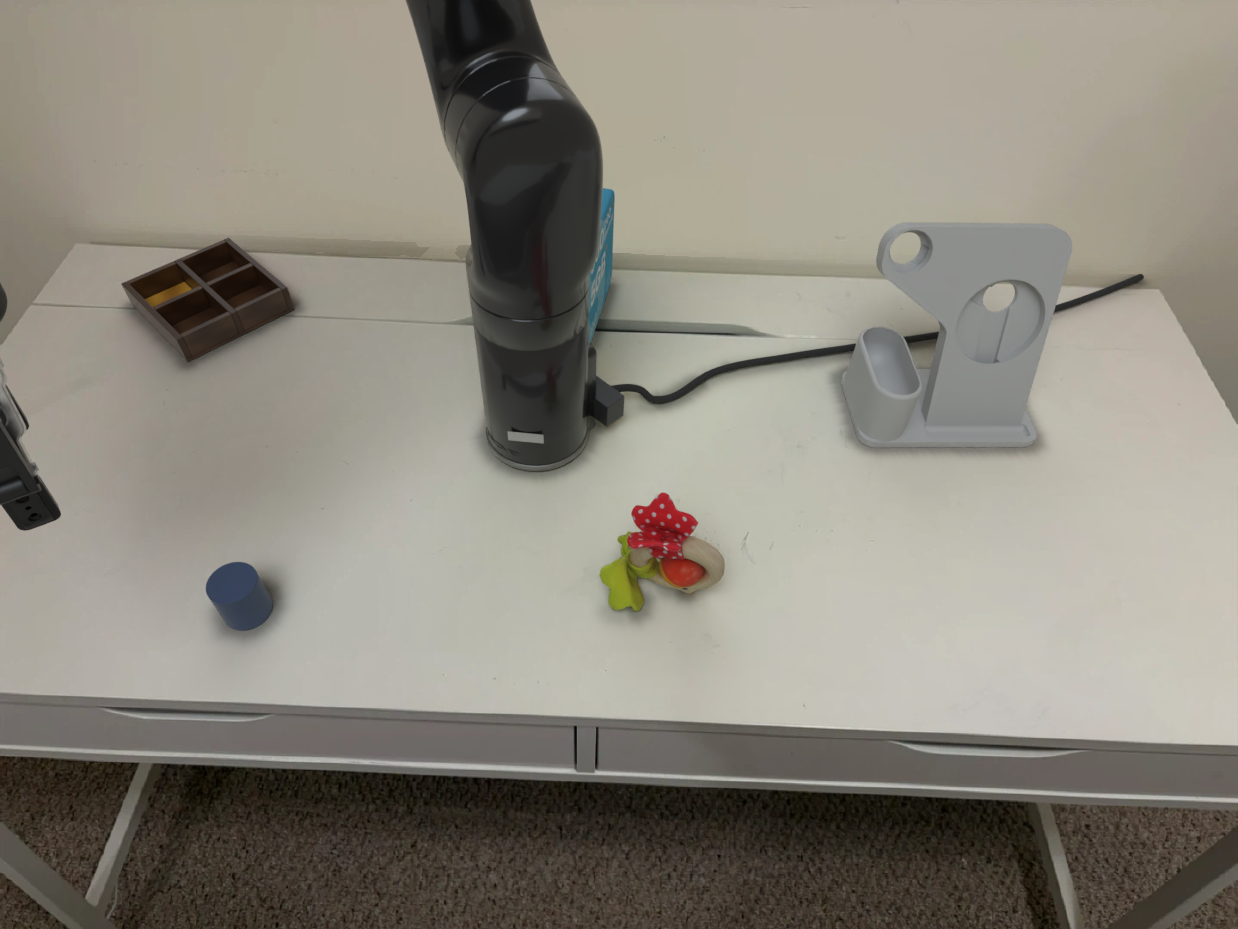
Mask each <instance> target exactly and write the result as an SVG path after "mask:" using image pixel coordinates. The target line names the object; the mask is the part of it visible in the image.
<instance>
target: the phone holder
mask: <svg viewBox="0 0 1238 929" xmlns="http://www.w3.org/2000/svg"><path fill="white" fill-rule="evenodd" d="M907 233H913V234H915V235H917V237H918V239H919V241H920V247H919V251H918V253H917V254H916V256H915V257H914V258H913V259H911V260H910V261H907V262H903V263H902V262H901V263H899V262H896V261H894V260H893V259H892V256H891V247H892V245H893V244H894V242H895V241H896V239H897V238H899V237H900V236H901V235H903V234H907ZM1072 253H1073V241H1072V238H1071V236H1070V234H1069V233H1068V232H1067V231H1066V230H1063V229H1061V228H1059V227H1057V226H1055V225H1053V224H1050V223H1038V222H1037V223H1036V222H1035V223H1034V222H1033V223H1031V222H1030V223H1029V222H1028V223H1027V222H1024V223H1021V222H941V221H940V222H929V221H928V222H927V221H926V222H921V221H920V222H919V221H917V222H913V221H912V222H911V221H910V222H909V221H907V222H906V221H905V222H900V223H897V224H895V225H893V226H891V227H890V228H889V229H888V230H886V231H885V232H884V233H883V235H882V237H881V239H880V241H879V243H878V248H877V253H876V258H875V265H876V268H877V270H878V272H879V273H880V274H881V275H882V276H883V277H884V278H886V280H888V281H889V282H890V283H891V284H892V285H894V286H895V287H896V288H897V289H898V290H900V291H901V292H902V293H903V294H905V296H907V297H908V298H910V299H911V300H912V301H913V302H915V303H916V305H918V306H919V307H920V308H922V310H924V311H925V312H927V313H928V314H929V315H930V316H931V317H933V318H934V319H935V320H936V321H937V323H938V324H939V330H938V331H939V335H938V339H936V344H935V348H934V353H933V357H932V361H931V365H930V368H917V365H916V363H915V360H914V358H913V356H912V353H911V351H910V350H911V349H910V348H909V346H908V344H907V342H906V340H905V339H904V337H905V336H903V335H902V334H901V333H900V332H898V331H897V330H895V329H892V328H890V327H886V326H882V325H881V326H880V325H879V326H878V325H875V326H870V327H867V328H865V329H863V330H862V331H861V332H860V333H859V335H858V337H857V341H856V343H855V344H856V346H855V349H854V351H852V355H851V358H850V360H849V364H848V366H847V369H846V370H845V371H844V372H843V373H842V377H841V379H840V384H841V388H842V391H843V395H844V397H845V401H846V405H847V408H848V412H849V414H850V417H851V421H852V424H853V428H854V431H855V435H856V437H857V439H858V441H859V442H860V443H861V444H863V445H864V446H867V447H869V448H1028V447H1030V446H1032V445H1033V443H1034V442H1035V441H1036V439H1037V437H1038V433H1037V430H1036V428H1035V426H1034V424H1033V422H1032V420H1031V418H1030V416H1029V414H1028V412H1027V410H1026V407H1027V404H1028V401H1029V397H1030V394H1031V391H1032V387H1033V384H1034V381H1035V377H1036V374H1037V370H1038V368H1039V365H1040V361H1041V357H1042V354H1043V351H1044V347H1045V344H1046V340H1047V337H1048V333H1049V331H1050V327H1051V323H1052V320H1053V316H1054V314H1055V313H1054V310H1055V307H1056V305H1057V303H1058V300H1059V296H1060V293H1061V289H1062V287H1063V283H1064V280H1065V275H1066V273H1067V270H1068V266H1069V262H1070V259H1071V257H1072ZM1000 283H1009V284H1010V285H1012V287H1013V289H1014V296H1013V299H1012V301H1011V302H1010V303H1009V304H1008V305H1007V306H1006V307H1005V308H1004V309H1001V310H998V311H992V310H988V309H987V307H986V306H985V303H984V296H985V293H986V291H987V290H988V289H989V288H992V287H994V286H995V285H997V284H1000Z"/></svg>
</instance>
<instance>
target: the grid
mask: <svg viewBox="0 0 1238 929" xmlns="http://www.w3.org/2000/svg"><path fill="white" fill-rule="evenodd" d="M121 286H122V288H123V291H124V292H125V294H126V296H127V298H128V300H129V302H130V304H131V306H132V307H133V309H135V310H136V311H137V313H139V315H141V316H142V317H143V318H144V319H145V320H146V321H147V323H149V325H151V327H153V329H154V330H155V331H157V333H159V335H160V336H161V337H162V338H163V339H164V340H165V341H166V342H167V343H168V344H169V345H170V346H171V347H172V348H173V349H174V351H176V352H177V353H178V354H179V356H181V357H182V359H183V360H185V361H186V362H187V363H189V362H191V361H194V360H195V359H198V358H199V357H201V356H203V355H205V354H208V353H210V352H211V351H214V350H215V349H217V348H220V347H222V346H224V345H226V344H228V343H230V342H232V341H234V340H235V339H239V338H240V337H242V336H244V335H246V334H248V333H250V332H253V331H254V330H256V329H258V328H261V327H262V326H265V325H266V324H268V323H271V322H272V321H275V320H276V319H278V318H281V317H282V316H285V315H287V314H289V313H290V312H293V311H295V306H294V303H293V301H292V298H291V295H290V291H289V288H288V286H286V284H284V283H283V282H282V281H281V280H279V279H278V278H277V277H276V276H275V275H273V273H271V272H270V271H269V270H267V269H266V268H265V267H264V266H263V265H262V264H260V262H258V261H257V260H256V259H254V258H253V257H252V256H251V255H250V254H248V253H247V251H245V250H244V249H243V248H241V247H240V245H238V244H237V243H236V242H234V240H232V239H231V238H230V237H227V238H224V239H222V240H219V241H217V242H215V243H212V244H210V245H208V246H206V247H202V248H201V249H198V250H196V251H194V252H192V253H189V254H187V255H184V256H181V257H180V258H177V259H175V260H173V261H171V262H168V263H166V264H163V265H161V266H159V267H157V268H154V269H152V270H150V271H147V272H144V273H142V274H140V275H138V276H135V277H133V278H130V279H129V280H128V279H127V280H126V281H124V282H122V283H121Z"/></svg>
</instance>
